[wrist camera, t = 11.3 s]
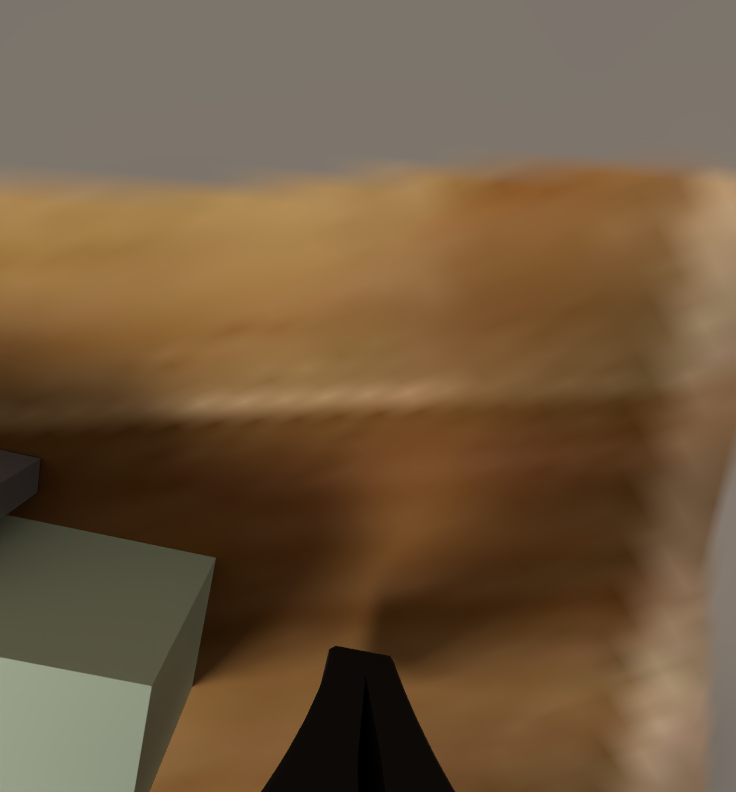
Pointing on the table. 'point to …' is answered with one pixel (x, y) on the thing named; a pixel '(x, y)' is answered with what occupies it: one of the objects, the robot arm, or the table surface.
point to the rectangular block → (93, 655)
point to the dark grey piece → (17, 480)
